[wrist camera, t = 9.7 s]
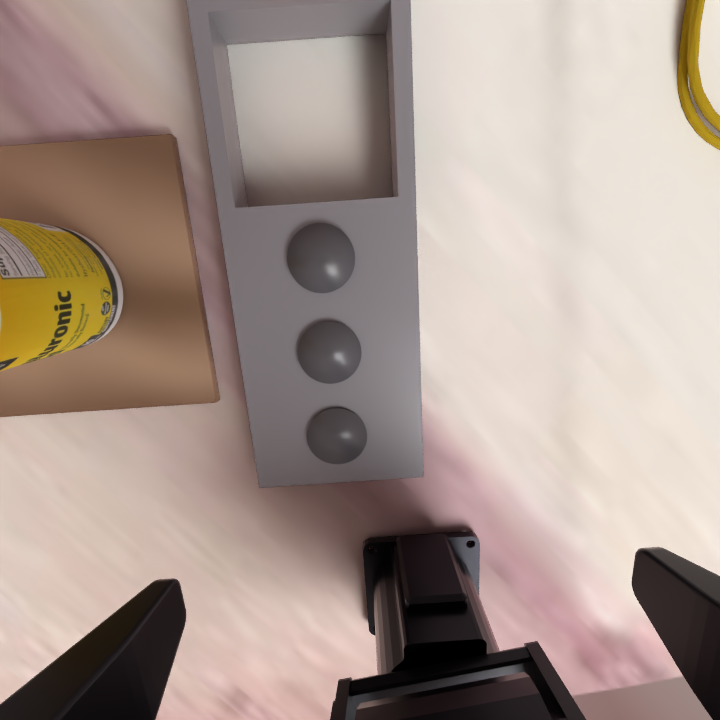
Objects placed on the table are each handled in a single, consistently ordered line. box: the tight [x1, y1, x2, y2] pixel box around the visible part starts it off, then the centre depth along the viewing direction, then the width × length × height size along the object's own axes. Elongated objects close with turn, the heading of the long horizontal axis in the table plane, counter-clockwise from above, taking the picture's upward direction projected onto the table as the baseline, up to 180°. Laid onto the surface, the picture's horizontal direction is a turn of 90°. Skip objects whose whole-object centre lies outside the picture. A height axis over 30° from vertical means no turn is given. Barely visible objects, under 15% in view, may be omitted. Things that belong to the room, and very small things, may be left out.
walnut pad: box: [0, 134, 220, 417], centre depth 17 cm, size 12×12×1 cm
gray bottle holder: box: [186, 0, 424, 488], centre depth 16 cm, size 22×8×3 cm, turn 4°
